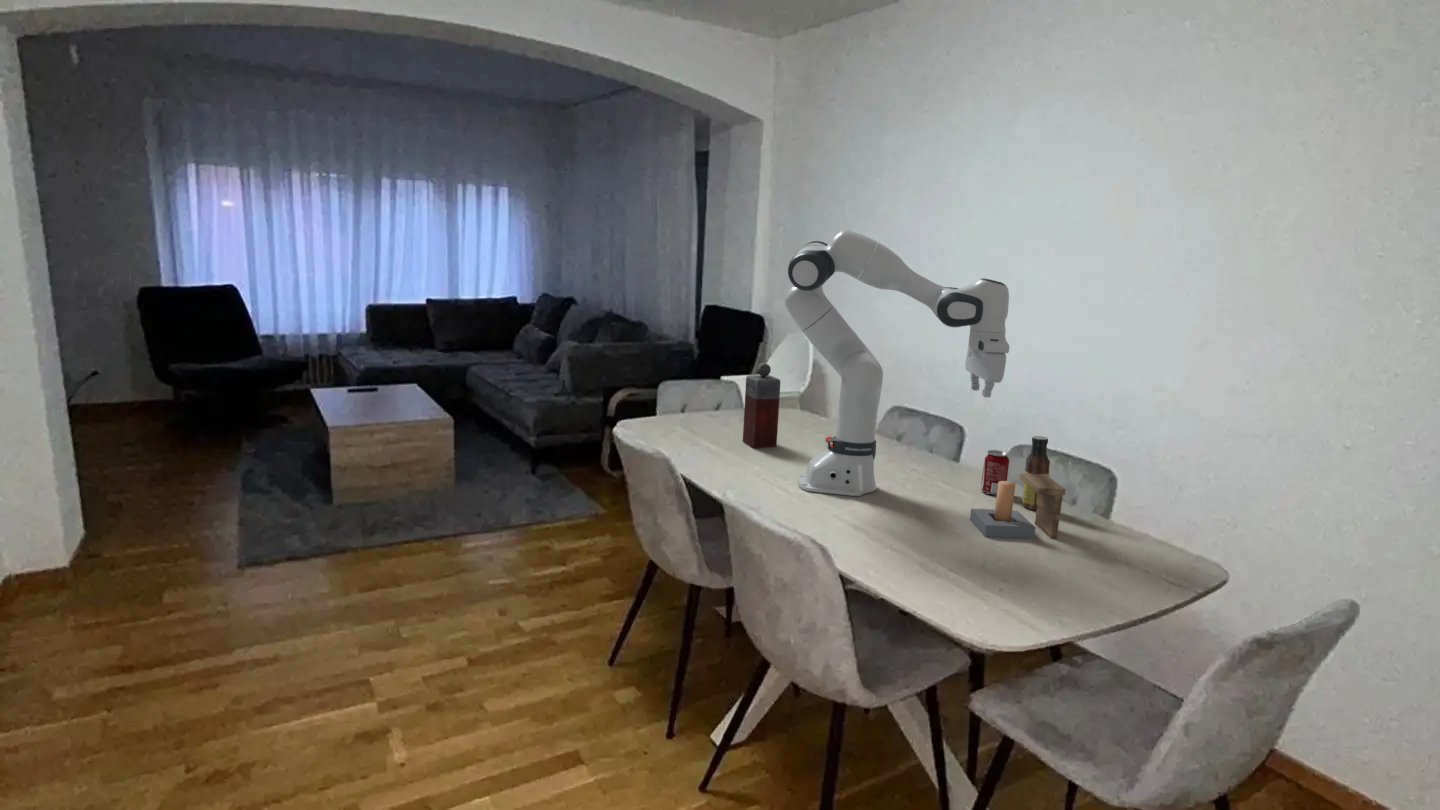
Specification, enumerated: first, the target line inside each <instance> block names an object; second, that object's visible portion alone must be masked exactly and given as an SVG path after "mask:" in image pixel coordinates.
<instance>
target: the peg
mask: <svg viewBox="0 0 1440 810" xmlns="http://www.w3.org/2000/svg"><path fill="white" fill-rule="evenodd" d="M1015 491H1016V483H1014V482H1012V481H1008V480H1007V481H999V482H998V490H997V495H996V500H995V506H994V507H995V508H994V510H995V514H994V521H1004V522H1011V515H1012V510H1013V507H1014V498H1015V493H1016V492H1015Z"/></svg>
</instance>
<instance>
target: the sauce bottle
mask: <svg viewBox="0 0 1440 810" xmlns="http://www.w3.org/2000/svg"><path fill="white" fill-rule="evenodd" d="M1048 444H1049V437H1047V436H1046V437H1045V436H1042V435H1041V436H1040V435H1035V436H1032V437H1031V450H1030V453H1029V455H1028V456H1027V458H1026V460H1025V467H1024V468H1025V469H1024V474H1043V475H1047V476H1048V477H1050V466H1051V465H1050V464H1051V461H1050V459H1049V457H1048V454H1047V449H1048ZM1022 488H1023V489H1022V498H1021V499H1022V500H1021V501H1022V503H1021V505H1022V507H1023V508H1025V509H1027V510H1032V511H1037V504H1038V497H1039V494H1037V493H1036V492H1035V491H1034V490H1032V489H1031V488H1030V487H1029V486H1028V485H1026V484H1025V483H1024V482H1023V486H1022Z"/></svg>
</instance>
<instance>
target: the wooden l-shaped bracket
mask: <svg viewBox="0 0 1440 810" xmlns="http://www.w3.org/2000/svg"><path fill="white" fill-rule="evenodd" d="M1019 480H1020V481H1022V483H1023V484H1024V483H1025V484H1026V485H1028V486H1029V487H1030V488H1031V489H1032V490H1034V491H1035V492H1036V493H1037V494H1039V497H1038V504H1037V511H1036V510H1035V511H1036V513H1035V520H1034V525H1035V526H1036V527H1037V528H1039V529H1040V530H1041V531H1042V532H1043V533H1044V534H1045V535H1046V536H1048V538H1050V539H1057V537H1058V531H1059V525H1060V518H1061V511H1062V504H1063V496H1065V495H1066V488H1065V487H1063V486H1062V485H1061V484H1059V483H1058V482H1057V481H1055V480H1054V479H1052V478H1051V477H1050V476H1049V477H1048V476H1047V475H1043V474H1025V473H1021V472H1020V473H1019Z"/></svg>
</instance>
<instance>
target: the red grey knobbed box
mask: <svg viewBox="0 0 1440 810" xmlns="http://www.w3.org/2000/svg"><path fill="white" fill-rule="evenodd" d="M771 371H772V369H771V366H770V365H769V364H768V363H765V362H761V363H759V364H758V365H757V368H756V372H757V374H752V375H751V374H750V375H747V376H746V377H745V391H744V393H745V395H744V408H743V410H744V411H743V430H742V443H743V442H744V443H743V444H745V445H746V446H748V447H750V448H751V449H767V448H777V445H778V429H779V428H778V426H779V412H780V411H779V410H780V400H781V399H780V398H781V397H780V395H781V383H782V382H781V380H780V379H779V378H778V377H775V376H773V375H770V373H771Z"/></svg>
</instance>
